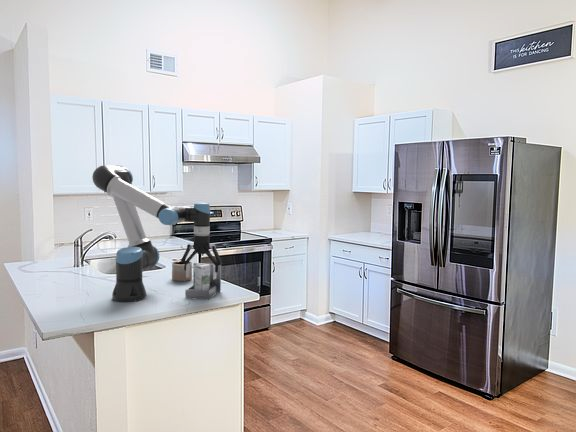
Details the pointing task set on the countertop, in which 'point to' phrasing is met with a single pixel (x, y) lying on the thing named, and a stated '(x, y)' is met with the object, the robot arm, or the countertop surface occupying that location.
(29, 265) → the countertop surface
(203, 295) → the bracket
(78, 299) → the countertop surface
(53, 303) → the countertop surface
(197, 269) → the syrup box
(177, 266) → the planter
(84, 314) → the countertop surface
